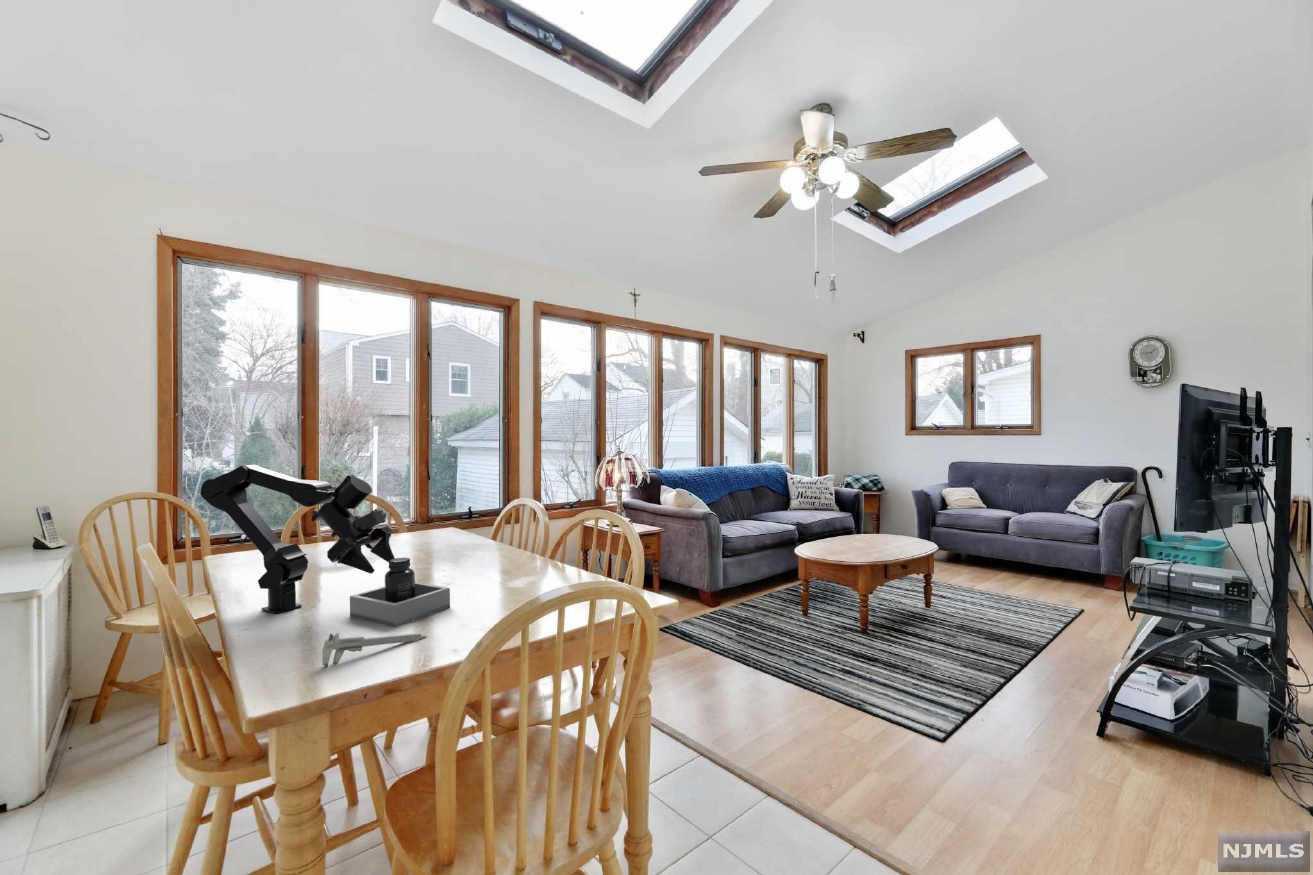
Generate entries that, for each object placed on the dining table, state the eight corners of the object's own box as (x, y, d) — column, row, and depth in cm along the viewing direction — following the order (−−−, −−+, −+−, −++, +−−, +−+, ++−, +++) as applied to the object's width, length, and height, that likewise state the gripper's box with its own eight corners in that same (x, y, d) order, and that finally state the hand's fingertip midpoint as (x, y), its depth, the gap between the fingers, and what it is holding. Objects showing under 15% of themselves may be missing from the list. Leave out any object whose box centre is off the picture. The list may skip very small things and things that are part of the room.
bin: (350, 616, 137) (349, 596, 137) (406, 599, 151) (406, 580, 151) (394, 627, 130) (394, 605, 130) (450, 607, 144) (449, 587, 144)
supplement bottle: (418, 602, 144) (418, 555, 144) (411, 611, 138) (410, 562, 137) (390, 604, 143) (389, 556, 143) (381, 613, 137) (380, 563, 136)
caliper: (324, 669, 108) (324, 636, 108) (322, 668, 108) (322, 635, 108) (426, 638, 124) (426, 609, 123) (424, 637, 124) (424, 608, 124)
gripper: (338, 504, 132) (384, 553, 131) (385, 495, 150) (425, 537, 149) (307, 537, 133) (352, 586, 132) (357, 524, 151) (396, 566, 150)
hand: (384, 567), depth 141 cm, fingers open, 9 cm apart
